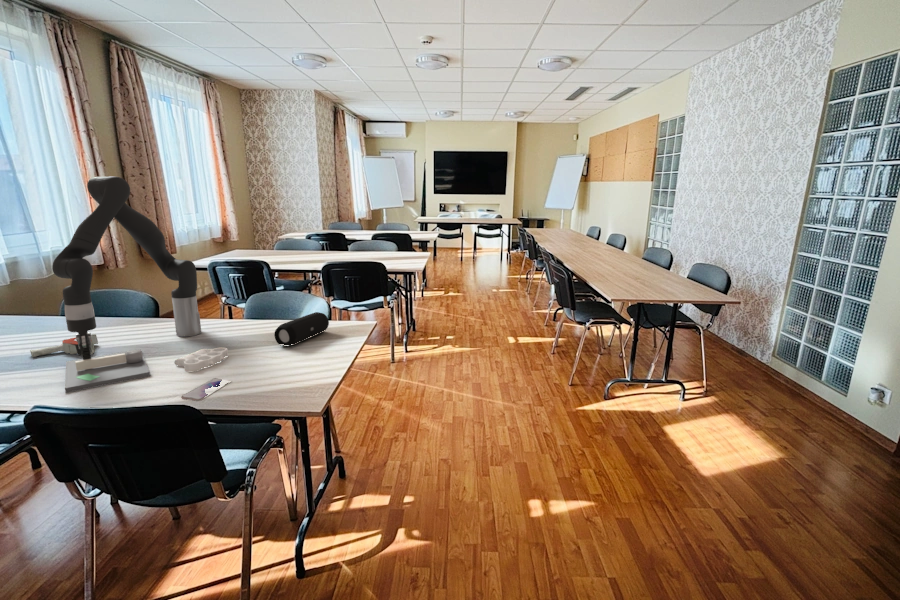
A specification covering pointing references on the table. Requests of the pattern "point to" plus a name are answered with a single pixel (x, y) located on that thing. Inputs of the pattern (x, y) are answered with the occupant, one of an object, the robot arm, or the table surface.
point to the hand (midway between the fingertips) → (88, 363)
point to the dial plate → (103, 374)
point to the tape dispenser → (65, 347)
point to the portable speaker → (301, 328)
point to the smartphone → (201, 390)
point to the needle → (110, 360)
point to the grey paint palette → (202, 358)
